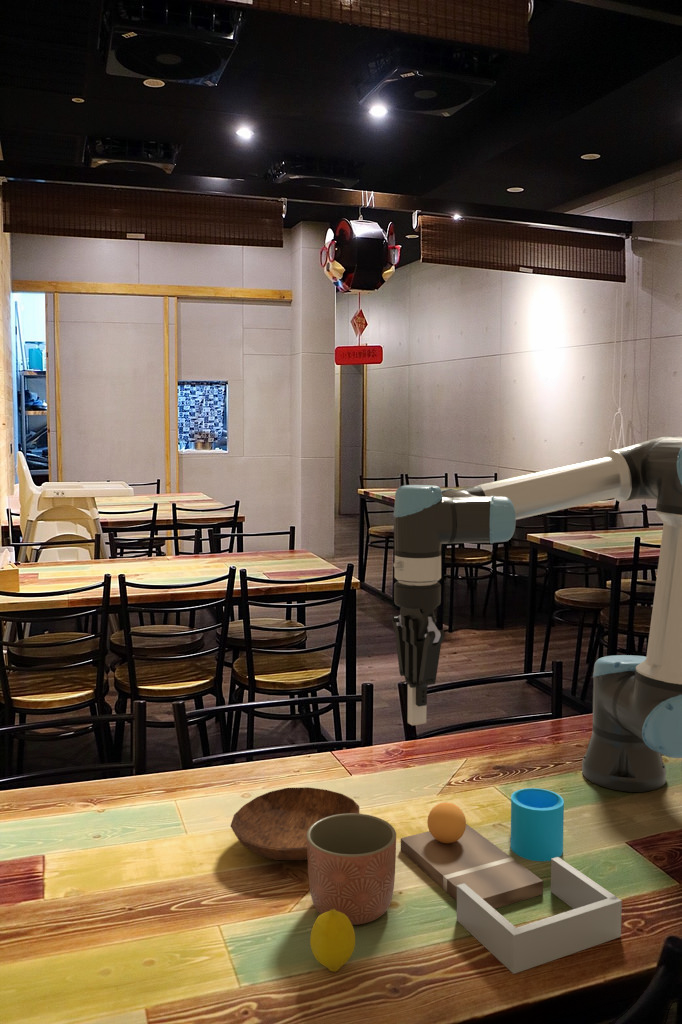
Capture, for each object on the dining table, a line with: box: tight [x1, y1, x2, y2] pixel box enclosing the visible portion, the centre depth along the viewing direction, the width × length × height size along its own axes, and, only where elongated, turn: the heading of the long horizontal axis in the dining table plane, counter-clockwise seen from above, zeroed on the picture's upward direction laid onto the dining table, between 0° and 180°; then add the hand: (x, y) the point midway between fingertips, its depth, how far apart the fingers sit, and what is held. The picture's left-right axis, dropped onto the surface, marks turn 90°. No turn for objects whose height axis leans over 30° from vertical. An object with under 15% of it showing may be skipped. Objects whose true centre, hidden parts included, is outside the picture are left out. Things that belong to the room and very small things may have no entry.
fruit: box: [309, 908, 356, 973], centre depth 105 cm, size 6×6×8 cm
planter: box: [307, 813, 397, 926], centre depth 118 cm, size 12×12×11 cm
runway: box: [400, 823, 544, 910], centre depth 128 cm, size 12×20×2 cm, turn 25°
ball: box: [427, 801, 467, 843], centre depth 133 cm, size 6×6×6 cm
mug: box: [510, 787, 565, 862], centre depth 136 cm, size 12×8×8 cm
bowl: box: [230, 786, 360, 861], centre depth 136 cm, size 20×22×5 cm
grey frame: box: [456, 857, 623, 975], centre depth 113 cm, size 17×13×5 cm
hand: (416, 722), depth 139 cm, fingers closed
